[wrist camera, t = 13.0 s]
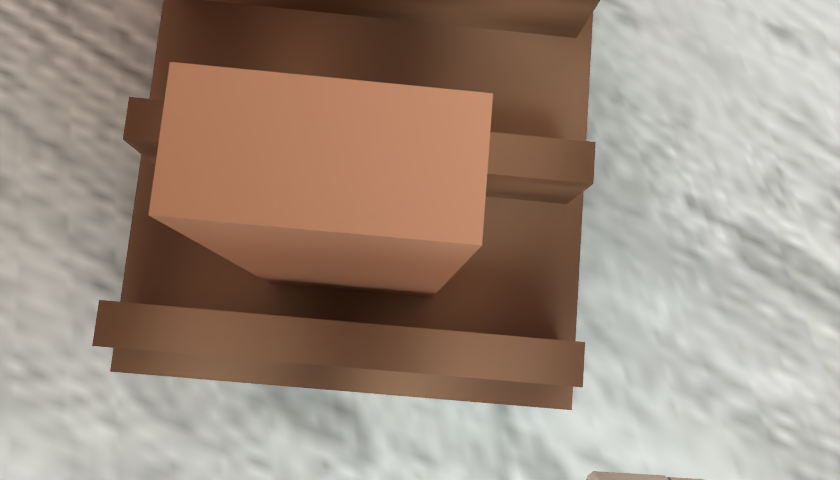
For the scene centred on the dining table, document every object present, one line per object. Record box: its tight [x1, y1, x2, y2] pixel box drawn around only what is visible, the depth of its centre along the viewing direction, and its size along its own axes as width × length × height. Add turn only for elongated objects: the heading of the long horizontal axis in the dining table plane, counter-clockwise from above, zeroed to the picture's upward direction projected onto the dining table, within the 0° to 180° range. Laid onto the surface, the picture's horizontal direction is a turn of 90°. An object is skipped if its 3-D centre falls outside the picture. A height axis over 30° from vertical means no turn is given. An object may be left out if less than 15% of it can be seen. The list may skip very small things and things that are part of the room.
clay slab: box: [149, 62, 493, 298], centre depth 17 cm, size 5×2×12 cm, turn 85°
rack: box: [92, 0, 600, 410], centre depth 23 cm, size 14×14×4 cm
